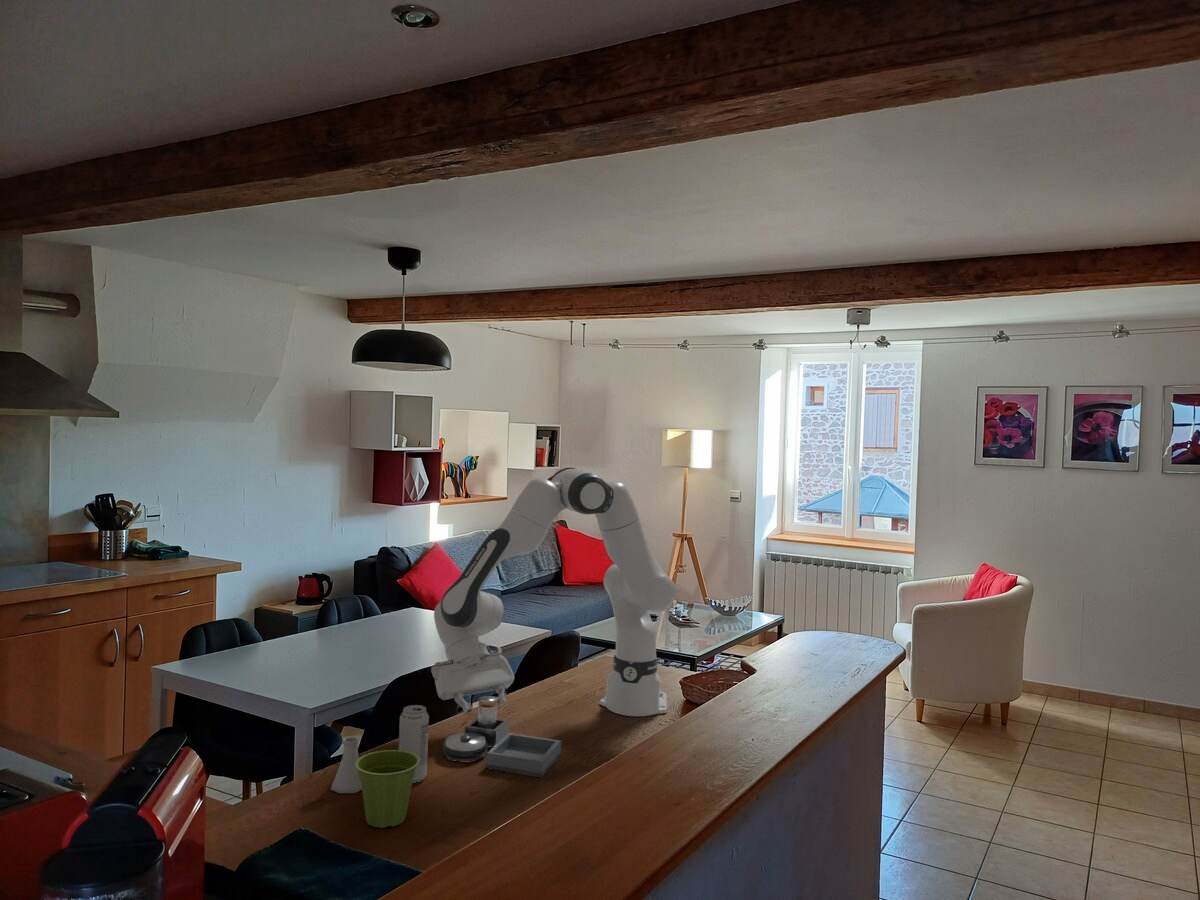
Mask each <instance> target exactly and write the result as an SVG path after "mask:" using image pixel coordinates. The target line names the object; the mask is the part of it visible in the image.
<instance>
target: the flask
mask: <svg viewBox="0 0 1200 900" xmlns="http://www.w3.org/2000/svg"><path fill="white" fill-rule="evenodd" d="M359 741H360V737H358V736H346V737H344V738H343V739H342V744H343V752H342V756H341V757H342V758H341V760H340V763H339V766H338V768H337V772H336V775H335V777H334V779H333V782H332V785H331V786H330V791H333V792H335V793H338V794H356V793H358V792H360V791H362V785H361V780H360V778H359V771H358V769H357V768H356V766H355V763H356V761H357V760H358V759H359V758H360V756H359V750H358V743H359Z"/></svg>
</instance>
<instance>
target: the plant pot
mask: <svg viewBox="0 0 1200 900" xmlns="http://www.w3.org/2000/svg"><path fill="white" fill-rule="evenodd" d="M419 762H420V759H419V757H418V756H417V755H415V754H414V753H411V752H407V751H400V750H399V749H387V750H386V749H383V750H378V751H372V752H368V753H367V754H363V755H362V756H359V759H358V760H357V761H356V763H355V766H356V768H357V769H358V771H359V778H360V780H361V785H362V790H361V791H362V799H363V807H364V816H365V820H366V823H367V825H369V826H370V825H371V827H373V828H377V827H379V828H378V829H385V828H387V827H397V826H399V825H400V824H402V823H403V822H404V821H405V819H406V818H407V817H406V816H407V812H408V807H409V802H410V796H411V790H412V785H413V784H412V781H413V777H414V775H415V770H416V767H417V766H418V764H419ZM396 825H397V826H396Z"/></svg>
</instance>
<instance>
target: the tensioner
mask: <svg viewBox="0 0 1200 900" xmlns="http://www.w3.org/2000/svg"><path fill="white" fill-rule="evenodd" d="M509 722H510V721H509V719H502V718H496V728H495V729H494V730H493V729H486V728H480V727H478V716H476V717H475V718H474V719H473V720H471V721H470V722H469V723H468V724H466V725H465V726H464V732H459V733H454V734H451V735H448V736H447V737H446V739H445V740H444V741H443V747H442V753H443V754H444V755H446V756H445V758H446V757H447V758H449V759H452V760H456V761H473V760H477V759H480V758H482V757H483V756H484V755H487V752H488V748H489V747H488V746H491V747H494V746H495V745H496V744H497V743H498V742H499V741H500V740H501V739H502V738H504V737H505V736H506V735H507V734H508V733H509V728H510V727H509V724H510V723H509ZM484 757H485V756H484ZM484 757H483V758H484ZM447 758H446V759H447ZM483 758H482V759H483ZM449 759H448V760H449ZM480 760H481V759H480Z"/></svg>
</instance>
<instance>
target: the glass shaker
mask: <svg viewBox="0 0 1200 900" xmlns="http://www.w3.org/2000/svg"><path fill="white" fill-rule="evenodd" d="M497 699H498V697H496V696H493V695H483V696H479V698H478V704H477V705H478V709H477V711H478V713H477V714H478V715H477V717H478V727H480V728H486V729H493V730H494V729H495V728H496V719H498V718H497V712H498V705H497Z"/></svg>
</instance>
